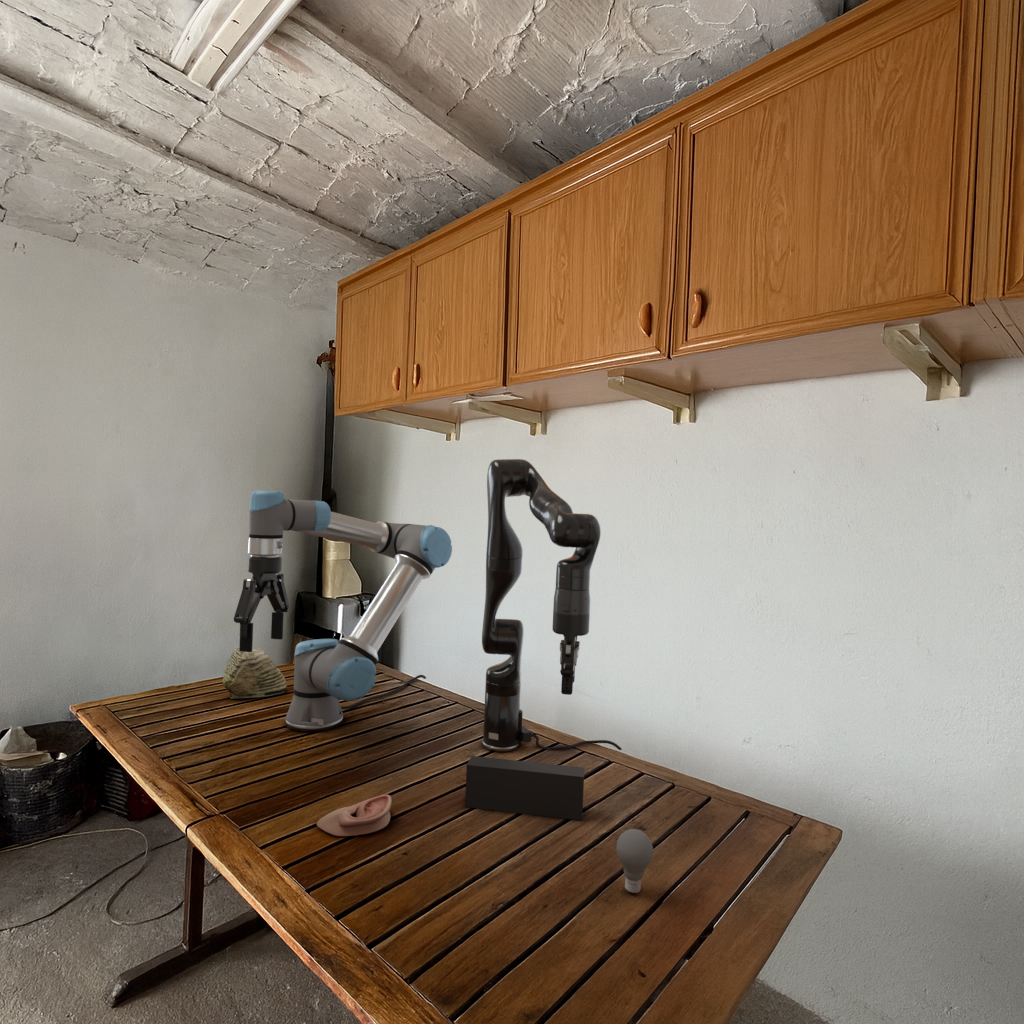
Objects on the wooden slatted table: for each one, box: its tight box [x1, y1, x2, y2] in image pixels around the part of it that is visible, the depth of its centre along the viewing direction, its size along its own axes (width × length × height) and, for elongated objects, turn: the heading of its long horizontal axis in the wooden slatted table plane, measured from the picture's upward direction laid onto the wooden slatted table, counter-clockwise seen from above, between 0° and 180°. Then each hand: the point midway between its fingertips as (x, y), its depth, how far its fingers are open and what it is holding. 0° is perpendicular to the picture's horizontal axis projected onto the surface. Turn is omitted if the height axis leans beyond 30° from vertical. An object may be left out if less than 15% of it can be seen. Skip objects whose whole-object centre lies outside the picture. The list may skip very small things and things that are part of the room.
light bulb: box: [615, 828, 654, 894], centre depth 106 cm, size 6×6×10 cm
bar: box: [464, 755, 586, 821], centre depth 133 cm, size 24×5×9 cm, turn 82°
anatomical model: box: [316, 794, 393, 837], centre depth 124 cm, size 13×4×12 cm
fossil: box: [222, 646, 288, 699], centre depth 198 cm, size 9×18×15 cm, turn 132°
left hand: (261, 645), depth 150 cm, fingers open, 13 cm apart
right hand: (567, 687), depth 131 cm, fingers open, 8 cm apart
